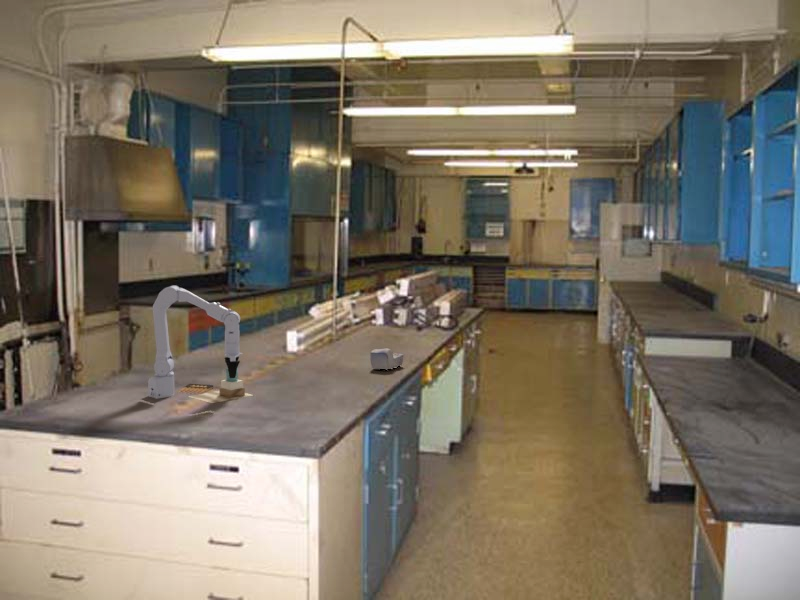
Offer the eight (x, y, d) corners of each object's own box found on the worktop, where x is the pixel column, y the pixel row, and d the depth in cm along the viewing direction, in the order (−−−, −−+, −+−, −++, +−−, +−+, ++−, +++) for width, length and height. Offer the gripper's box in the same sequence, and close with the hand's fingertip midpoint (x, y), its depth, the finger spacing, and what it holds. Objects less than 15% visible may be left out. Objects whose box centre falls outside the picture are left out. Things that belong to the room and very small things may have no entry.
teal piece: (231, 382, 298) (231, 370, 298) (223, 380, 301) (223, 369, 301) (240, 380, 301) (240, 369, 301) (233, 378, 304) (233, 367, 304)
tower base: (230, 398, 297) (230, 390, 297) (219, 395, 301) (219, 387, 301) (244, 395, 302) (244, 388, 302) (233, 392, 307) (233, 385, 306)
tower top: (230, 390, 297) (230, 382, 297) (221, 387, 301) (221, 380, 301) (242, 388, 302) (242, 380, 302) (233, 385, 306) (233, 378, 305)
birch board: (212, 405, 288) (212, 403, 288) (187, 398, 298) (187, 396, 298) (253, 397, 303) (253, 395, 303) (229, 390, 314) (229, 388, 313)
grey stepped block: (367, 348, 363) (380, 343, 383) (367, 370, 364) (380, 364, 383) (393, 350, 360) (405, 345, 379) (393, 372, 360) (405, 366, 379)
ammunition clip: (213, 385, 314) (200, 392, 303) (213, 389, 315) (200, 396, 303) (189, 383, 316) (175, 390, 305) (189, 387, 317) (175, 395, 305)
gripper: (243, 345, 294) (243, 379, 295) (241, 339, 308) (241, 372, 309) (224, 345, 292) (224, 380, 293) (223, 339, 306) (223, 373, 307)
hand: (232, 376), depth 301 cm, fingers open, 6 cm apart
